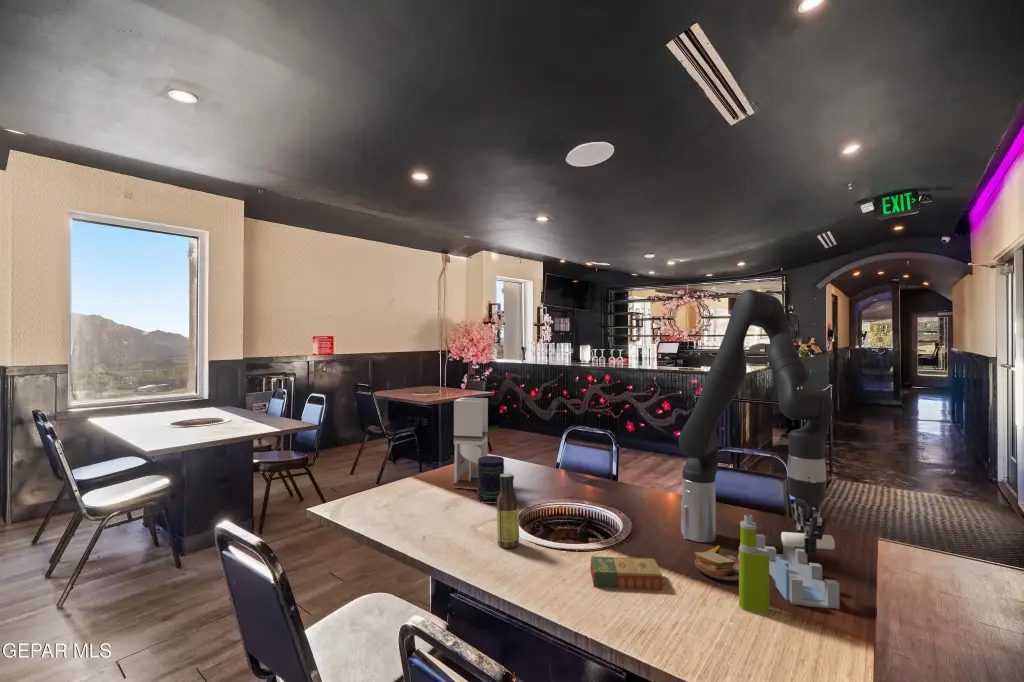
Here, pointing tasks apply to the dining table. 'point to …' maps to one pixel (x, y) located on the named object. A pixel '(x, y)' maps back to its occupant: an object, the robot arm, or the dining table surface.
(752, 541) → the vape
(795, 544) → the cream cylindrical rod
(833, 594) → the white peg rack
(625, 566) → the carton
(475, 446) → the white boxy tower
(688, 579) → the dining table surface
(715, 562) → the toy sandwich meal
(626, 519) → the dining table surface
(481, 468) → the storage jar
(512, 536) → the sauce bottle
